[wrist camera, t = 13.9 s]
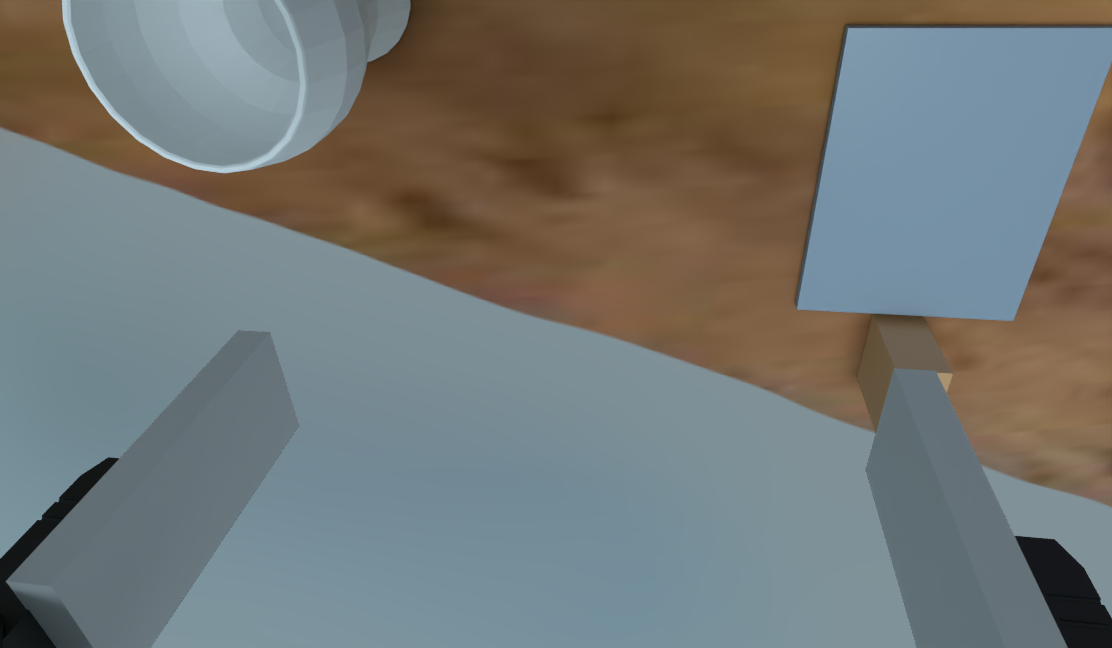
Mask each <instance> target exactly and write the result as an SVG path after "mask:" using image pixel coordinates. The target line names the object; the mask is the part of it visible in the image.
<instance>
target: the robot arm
mask: <svg viewBox="0 0 1112 648" xmlns="http://www.w3.org/2000/svg"><path fill="white" fill-rule="evenodd" d="M298 427H299V423H298V420H297V417H296V414H295V410H294V407H293V404H292V401H291V398H290V395H289V391H288V388H287V385H286V382H285V378H284V375H283V372H282V369H281V366H280V362H279V359H278V356H277V353H276V350H275V346H274V343H273V340H272V337H271V334H270V332H257V331H237V332H236V333H235V334H234V336H233V337H232V338H231V339H230V340H229V341H228V342H227V343H226V344H225V345H224V346H223V347H222V349H221V350H220V351H219V352H218V353H217V354H216V355H215V356H214V357H213V358H212V359H211V360H210V362H209V363H208V364H207V365H206V366H205V367H204V368H203V369H202V370H201V371H200V372H199V373H198V375H196V377H195V378H194V379H193V380H192V381H191V382H190V383H189V384H188V385H187V386H186V387H185V389H183V391H182V392H181V393H180V394H179V395H178V396H177V397H176V398H175V399H174V400H173V401H172V402H171V404H170V405H169V406H168V407H167V408H166V409H165V410H164V411H163V412H162V413H161V414H160V416H159V417H158V418H157V419H156V420H155V421H154V422H153V423H152V424H151V425H150V426H149V427H148V428H147V429H146V431H145V432H144V433H143V434H142V435H141V436H140V437H139V438H138V439H137V440H136V441H135V442H134V444H133V445H132V446H131V447H130V448H129V449H128V450H127V451H126V452H125V453H124V454H123V456H121V458H107V459H105V460H104V461H102V462H101V463H100V464H98V465H96V466H95V467H93V468H92V469H90V470H89V471H87V472H86V473H84V474H82V475H81V476H80V477H79V478H78V479H77V480H76V481H75V482H74V483H73V484H72V485H71V486H70V487H69V488H68V489H67V490H66V491H65V492H64V493H63V494H62V495H61V496H60V497H59V502H55V503H54V504H53V505H52V506H51V507H50V508H49V509H48V510H47V511H46V512H45V513H44V514H43V515H42V520H37V521H36V522H35V524H34V525H33V526H32V527H31V528H30V529H29V530H28V531H27V532H26V533H25V534H24V535H23V536H22V537H21V538H20V539H19V540H18V541H17V542H16V543H15V544H14V545H13V546H12V547H11V549H10V550H8V552H6V554H5V555H4V556H3V557H2V558H1V559H0V648H151V647H152V645H153V644H154V642H155V641H156V639H157V638H158V636H159V635H160V633H161V632H162V630H163V629H164V627H165V626H166V624H167V623H168V621H169V620H170V618H171V617H172V615H173V614H174V612H175V611H176V609H177V608H178V606H179V605H180V603H181V602H182V601H183V599H184V597H185V596H186V595H187V593H188V592H189V590H190V589H191V587H192V586H193V584H194V583H195V581H196V579H197V578H198V577H199V575H200V574H201V572H202V570H203V569H204V567H205V566H206V565H207V563H208V562H209V560H210V559H211V557H212V555H213V554H214V552H215V551H216V550H217V548H218V547H219V545H220V544H221V542H222V541H223V539H224V538H225V536H226V535H227V533H228V532H229V530H230V529H231V527H232V526H233V524H234V523H235V521H236V520H237V518H238V517H239V515H240V514H241V512H242V511H243V509H244V508H245V506H246V505H247V503H248V502H249V500H250V499H251V497H252V496H253V494H254V493H255V491H256V490H257V488H258V487H259V485H260V484H261V482H262V481H263V479H264V478H265V476H266V475H267V473H268V472H269V470H270V469H271V467H272V466H273V464H274V463H275V461H276V460H277V458H278V457H279V455H280V454H281V452H282V450H283V449H284V448H285V446H286V445H287V443H288V442H289V440H290V439H291V438H292V436H293V435H294V433H295V432H296V430H297V428H298ZM866 473H867V477H868V480H869V484H870V487H871V491H872V494H873V498H874V501H875V504H876V508H877V511H878V515H879V518H880V522H881V525H882V529H883V532H884V536H885V539H886V543H887V546H888V550H889V553H890V557H891V560H892V564H893V567H894V570H895V574H896V578H897V581H898V584H899V588H900V591H901V595H902V598H903V602H904V605H905V609H906V612H907V616H908V619H909V622H910V626H911V630H912V633H913V637H914V640H915V644H916V647H917V648H1112V619H1111V617H1110V615H1109V613H1108V611H1107V610H1106V607H1105V606H1104V605H1101V602H1100V600H1101V599H1100V597H1099V595H1098V593H1097V591H1096V589H1095V588H1094V586H1093V584H1092V582H1091V580H1090V578H1089V577H1088V575H1087V573H1086V571H1085V569H1084V568H1083V567H1082V566H1081V565H1080V564H1079V563H1078V562H1077V561H1076V560H1075V559H1074V558H1073V557H1072V556H1071V555H1070V554H1069V553H1068V552H1067V551H1066V550H1065V549H1064V548H1063V547H1062V546H1061V545H1060V544H1059V543H1058V542H1057V541H1056V540H1054V539H1043V538H1032V537H1022V536H1014V534H1013V532H1012V530H1011V528H1010V526H1009V524H1008V521H1007V519H1006V518H1005V515H1004V513H1003V511H1002V509H1001V507H1000V505H999V502H998V500H997V498H996V496H995V494H994V492H993V490H992V488H991V486H990V484H989V482H988V479H987V477H986V475H985V473H984V471H983V469H982V467H981V465H980V463H979V460H978V458H977V456H976V454H975V452H974V450H973V448H972V446H971V444H970V442H969V439H968V437H967V435H966V433H965V431H964V429H963V427H962V425H961V423H960V421H959V418H958V416H957V414H956V412H955V410H954V408H953V406H952V404H951V402H950V400H949V397H948V395H947V393H946V391H945V389H944V387H943V385H942V383H941V381H940V379H939V376H938V374H937V372H936V371H932V370H915V369H898V368H894V370H893V374H892V377H891V381H890V384H889V388H888V392H887V395H886V399H885V402H884V406H883V409H882V413H881V417H880V420H879V424H878V427H877V431H876V435H875V438H874V442H873V445H872V449H871V452H870V456H869V459H868V463H867V467H866Z"/></svg>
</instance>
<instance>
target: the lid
mask: <svg viewBox="0 0 1112 648" xmlns="http://www.w3.org/2000/svg"><path fill="white" fill-rule="evenodd" d="M1111 63H1112V25H846V26H845V32H844V37H843V43H842V48H841V54H840V59H839V65H838V70H837V76H836V81H835V87H834V92H833V98H832V103H831V109H830V114H829V120H828V125H827V131H826V136H825V142H824V147H823V153H822V158H821V164H820V169H819V175H818V180H817V186H816V191H815V197H814V202H813V208H812V213H811V219H810V224H809V230H808V235H807V241H806V246H805V252H804V257H803V263H802V268H801V274H800V279H799V285H798V290H797V296H796V301H795V304H796V308H797V309H799V310H818V311H836V312H855V313H874V314H872V318H871V322H870V326H869V330H868V334H867V338H866V342H865V346H864V350H863V354H862V358H861V362H860V366H859V370H858V374H857V379H858V382H859V385H860V388H861V391H862V394H863V397H864V400H865V403H866V406H867V409H868V412H869V415H870V418H871V421H872V424H873V427H874V430H875V433H876V431H877V427H878V424H879V420H880V417H881V413H882V409H883V406H884V402H885V399H886V395H887V392H888V388H889V384H890V381H891V377H892V374H893V370H894V368H898V369H915V370H932V371H936V372H937V374H938V376H939V379H940V381H941V383H942V385H943V387H944V389H945V391H946V393H947V390H948V387H949V384H950V381H951V378H952V375H953V373H952V371H951V369H950V367H949V365H948V363H947V361H946V359H945V358H944V356H943V354H942V352H941V350H940V348H939V346H938V344H937V342H936V340H935V338H934V336H933V334H932V333H931V331H930V329H929V327H928V325H927V323H926V321H925V319H924V317H923V316H931V317H950V318H969V319H988V320H1007V321H1013V320H1014V317H1015V315H1016V312H1017V310H1018V307H1019V304H1020V302H1021V299H1022V296H1023V294H1024V291H1025V288H1026V286H1027V283H1028V281H1029V278H1030V275H1031V273H1032V270H1033V267H1034V265H1035V262H1036V260H1037V257H1038V254H1039V252H1040V249H1041V246H1042V244H1043V241H1044V239H1045V236H1046V233H1047V231H1048V228H1049V225H1050V223H1051V220H1052V218H1053V215H1054V212H1055V210H1056V207H1057V204H1058V202H1059V199H1060V197H1061V194H1062V191H1063V189H1064V186H1065V183H1066V181H1067V178H1068V176H1069V173H1070V170H1071V168H1072V165H1073V162H1074V160H1075V157H1076V155H1077V152H1078V149H1079V147H1080V144H1081V141H1082V139H1083V136H1084V134H1085V131H1086V128H1087V126H1088V123H1089V120H1090V118H1091V115H1092V113H1093V110H1094V107H1095V105H1096V102H1097V99H1098V97H1099V94H1100V91H1101V89H1102V86H1103V84H1104V81H1105V78H1106V76H1107V73H1108V70H1109V68H1110V65H1111ZM889 314H893V315H889ZM907 315H912V316H907Z"/></svg>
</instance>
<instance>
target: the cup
mask: <svg viewBox="0 0 1112 648" xmlns="http://www.w3.org/2000/svg"><path fill="white" fill-rule="evenodd" d="M62 7H63V22H64V25H65V29H66V32H67V36H68V39H69V43H70V46H71V50H72V53H73V56H74V58H75V60H76V62H77V64H78V66H79V68H80V70H81V72H82V73H83V75H84V77H85V79H86V81H87V83H88V85H89V87H90V88H91V90H92V91H93V92H94V94H95V95H96V96H97V98H98V99H99V100H100V102H101V103H102V104H103V106H104V107H105V108H106V109H107V111H108V112H109V113H110V115H111V116H112V117H113V118H114V119H115V120H116V121H117V122H118V123H120V124H121V125H122V126H123V127H124V128H125V129H126V130H127V131H128V132H129V133H130V134H131V135H133V136H134V137H135V138H136V139H137V140H138V141H140V142H141V143H143V144H145V145H146V146H148V147H149V148H151V149H152V150H154V151H156V152H157V153H159V154H160V155H162V156H163V157H165V158H167V159H170V160H173V161H175V162H178V163H180V164H183V165H185V166H188V167H191V168H193V169H197V170H204V171H212V172H219V173H230V172H238V171H245V170H252V169H256V168H260V167H264V166H268V165H271V164H275V163H279V162H283V161H286V160H288V159H290V158H292V157H294V156H297V155H299V154H301V153H303V152H305V151H307V150H309V149H310V148H312V147H313V146H314V145H315V144H317V143H318V142H319V141H320V140H322V139H323V138H324V137H325V136H327V135H328V134H329V133H330V132H331V131H332V130H333V129H334V128H335V127H336V126H337V125H338V124H339V123H340V122H341V121H342V120H343V119H344V118H345V117H346V116H347V115H348V113H349V111H350V109H351V107H352V105H353V103H354V101H355V99H356V97H357V95H358V93H359V91H360V89H361V85H362V82H363V78H364V75H365V71H366V66H367V62H370V61H373V60H375V59H377V58H379V57H381V56H383V55H385V54H386V53H388V52H389V51H390V50H391V49H392V48H393V47H394V46H395V45H396V44H397V43H398V42H399V40H400V38H401V36H402V34H403V32H404V30H405V28H406V26H407V22H408V18H409V13H410V8H411V4H410V0H62Z"/></svg>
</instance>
